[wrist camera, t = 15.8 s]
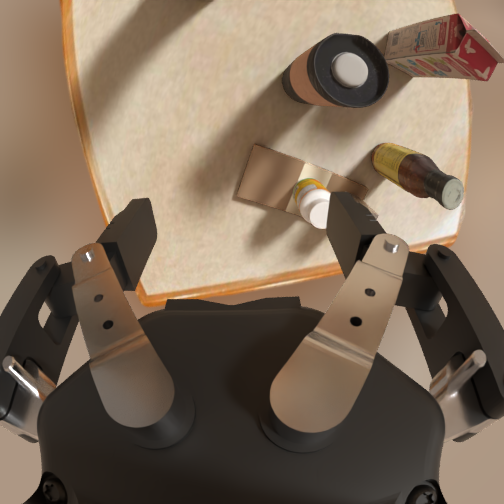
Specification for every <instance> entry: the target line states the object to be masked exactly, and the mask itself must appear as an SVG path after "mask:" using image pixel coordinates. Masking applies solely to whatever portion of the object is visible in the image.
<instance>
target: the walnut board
mask: <svg viewBox="0 0 504 504" xmlns="http://www.w3.org/2000/svg"><path fill="white" fill-rule="evenodd" d="M304 178H315V179H317V180H318V181H320V182H321V183H322V184H323V186H324V187H325V188H326V189H327V190H328V191H329V192H330V193H331V192H345V191H347V192H349V193H351V194H354V195H356V196H359V197H360V198H361V199H362V200H363V199H364V197H365V195H366V193H367V191H368V188H367V187H365V186H363V185H361V184H359V183H356V182H354V181H352V180H349V179H347V178H345V177H343V176H340V175H338V174H335V173H333V172H331V171H328V170H326V169H323V168H321V167H318V166H316V165H313V164H310V163H308V162H305V161H302V160H300V159H297V158H294V157H292V156H289V155H286V154H283V153H280V152H277V151H274V150H271V149H268V148H265V147H262V146H259V145H256V144H254V146H253V149H252V152H251V155H250V157H249V160H248V163H247V166H246V169H245V172H244V175H243V178H242V181H241V184H240V187H239V190H238V193H237V197H240V198H244V199H247V200H250V201H254V202H257V203H260V204H264V205H267V206H270V207H273V208H277V209H280V210H283V211H286V212H289V213H292V214H295V215H298V216H302V215H301V213H300V211H299V209H298V207H297V205H296V203H295V201H294V198H293V189H294V187H295V185H296V184H297V182H299V181H300V180H302V179H304Z"/></svg>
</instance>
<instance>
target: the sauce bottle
mask: <svg viewBox="0 0 504 504" xmlns="http://www.w3.org/2000/svg"><path fill="white" fill-rule="evenodd" d="M372 164H373V166H374V169H375V170H376V171H377V172H378V173H379V174H380V175H382V176H383V177H385V178H387V179H388V180H390V181H391V182H393V183H395V184H396V185H398V186H399V187H401V188H402V189H404V190H405V191H407V192H409V193H411V194H413V195H414V196H416V197H419V198H428V197H431V198H434V199H435V200H437V201H438V202H439V204H440V205H442V206H443V207H444V208H446V209H449V210H453V209H455V208H457V207H458V206H459V205H460V203H461V201H462V199H463V193H464V187H463V184H462V183H461V181H460V180H459V179H457V178H455V177H454V176H450V175H446V174H444V173H443V172H442V171H440V170H439V168H438V167H437V166H436V164H435V163H434V162H433V161H432V160H431V159H430V158H429V157H428V156H426V155H423V154H421V153H418V152H416V151H413V150H410V149H407V148H405V147H402V146H399V145H396V144H393V143H383V144H380V145H378V146H377V147H376V148H375V150H374V151H373V154H372Z"/></svg>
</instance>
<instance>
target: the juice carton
mask: <svg viewBox="0 0 504 504" xmlns="http://www.w3.org/2000/svg"><path fill="white" fill-rule="evenodd" d="M384 58H385V60H386V63H388V64H390V65H392V66H394V67H396V68H398V69H399V70H401V71H403V72H405V73H407V74H408V75H410V76H412V77H439V78H459V79H471V80H481V81H488V80H489V78H490V77H491V75H492V73H493V71H494V69H495V67H496V65H497V63H504V58H503V57H502V56H501V55H500V53H499V52H498V51H497V50H496V49H495V48H494V47H493V46H492V44H491V43H490V42H489V41H488V40H487V39H486V38H485V37H484V36H483V35H482V34H481V33H480V32H479V31H478V30H477V29H475V28H474V27H473V26H472V25H471V24H470V23H469V22H468V21H466V20H465V19H464V18H463V17H462V16H460V15H459V14H453V15H448V16H443V17H439V18H434V19H430V20H426V21H423V22H419V23H415V24H412V25H408V26H405V27H402V28H399V29H396V30H393V31H390V32H389V36H388V41H387V46H386V50H385V55H384Z"/></svg>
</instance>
